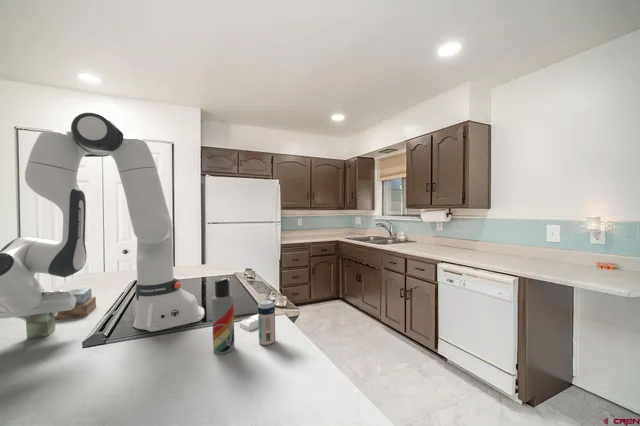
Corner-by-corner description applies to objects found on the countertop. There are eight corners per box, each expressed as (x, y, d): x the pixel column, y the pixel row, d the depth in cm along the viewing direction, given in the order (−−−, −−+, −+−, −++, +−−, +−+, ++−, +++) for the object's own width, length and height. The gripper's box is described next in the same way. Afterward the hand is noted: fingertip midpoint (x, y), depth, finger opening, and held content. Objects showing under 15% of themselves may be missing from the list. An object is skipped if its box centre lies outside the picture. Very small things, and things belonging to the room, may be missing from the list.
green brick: (55, 329, 95) (53, 299, 94) (47, 335, 90) (46, 304, 90) (35, 332, 93) (33, 301, 92) (27, 338, 88) (25, 306, 88)
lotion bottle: (222, 356, 77) (220, 282, 76) (208, 351, 80) (206, 280, 79) (238, 347, 81) (237, 277, 81) (225, 342, 84) (223, 275, 84)
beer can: (278, 340, 85) (277, 300, 85) (269, 347, 81) (268, 305, 81) (265, 337, 87) (264, 298, 87) (255, 344, 83) (254, 303, 83)
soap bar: (270, 322, 99) (270, 315, 99) (248, 332, 92) (248, 324, 92) (261, 319, 102) (261, 311, 102) (239, 328, 95) (239, 320, 95)
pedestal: (96, 306, 116) (95, 286, 115) (87, 315, 106) (86, 294, 106) (64, 310, 112) (63, 290, 111) (52, 319, 103) (51, 297, 102)
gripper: (70, 281, 88) (84, 302, 98) (-21, 290, 80) (3, 312, 90) (65, 300, 84) (79, 320, 94) (-32, 311, 76) (-6, 332, 86)
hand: (41, 316), depth 92 cm, fingers closed on green brick, 5 cm apart
